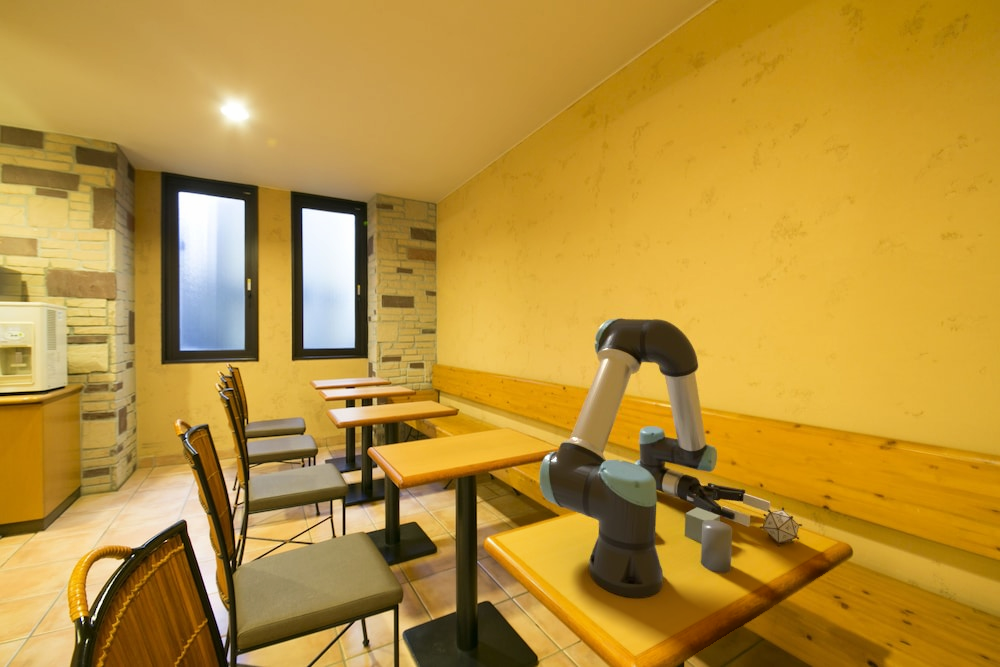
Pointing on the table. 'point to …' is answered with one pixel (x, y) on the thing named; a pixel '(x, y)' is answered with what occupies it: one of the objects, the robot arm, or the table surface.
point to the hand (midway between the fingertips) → (760, 513)
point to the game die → (781, 526)
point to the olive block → (697, 522)
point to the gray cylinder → (716, 546)
